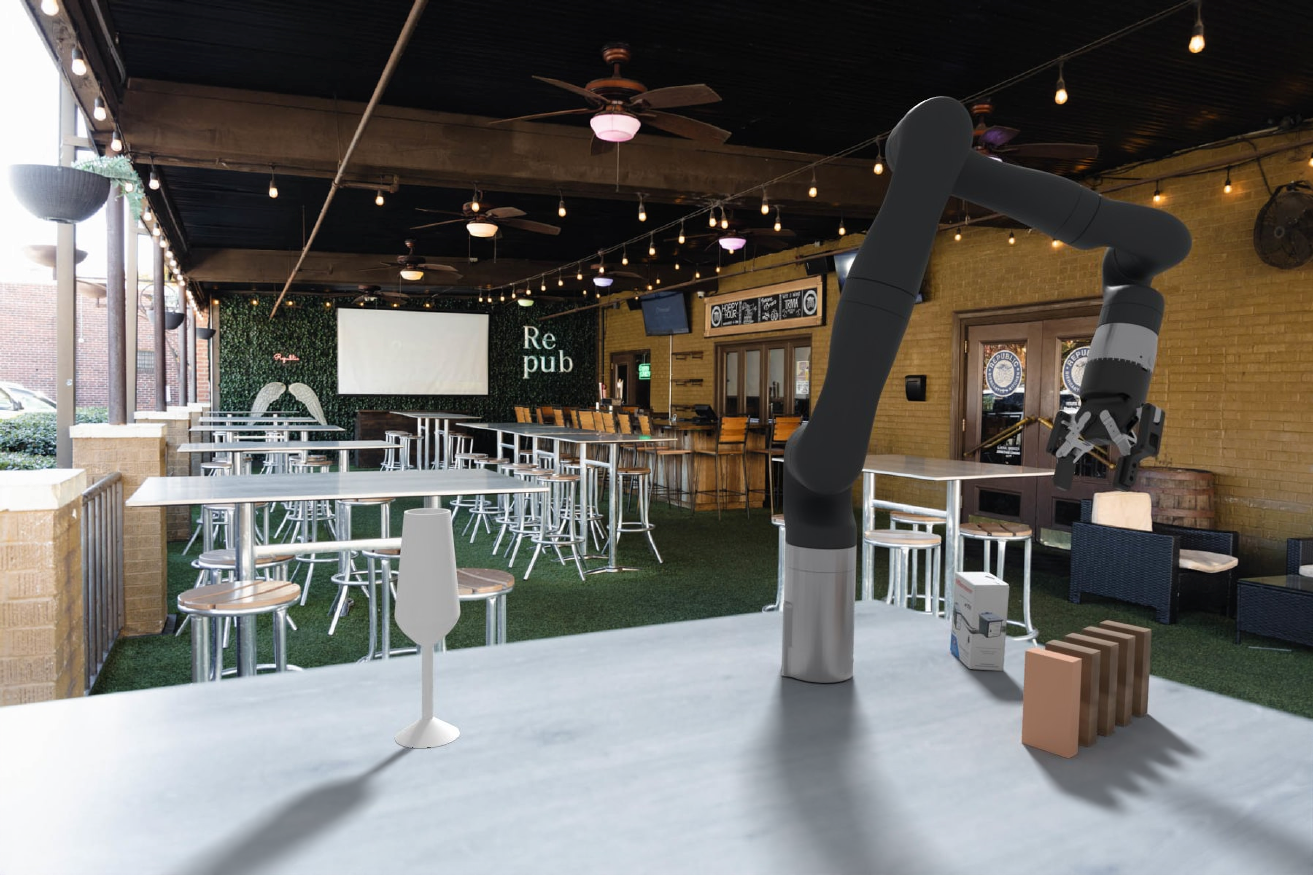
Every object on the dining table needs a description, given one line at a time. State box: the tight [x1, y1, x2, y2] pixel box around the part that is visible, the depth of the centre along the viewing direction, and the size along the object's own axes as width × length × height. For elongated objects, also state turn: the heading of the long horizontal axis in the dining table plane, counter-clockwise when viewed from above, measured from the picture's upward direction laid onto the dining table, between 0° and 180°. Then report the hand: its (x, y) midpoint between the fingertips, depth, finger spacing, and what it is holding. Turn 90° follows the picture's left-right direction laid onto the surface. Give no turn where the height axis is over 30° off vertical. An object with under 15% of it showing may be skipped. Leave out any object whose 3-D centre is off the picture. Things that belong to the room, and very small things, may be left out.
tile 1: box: [1098, 619, 1152, 718], centre depth 102 cm, size 2×5×10 cm, turn 40°
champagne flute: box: [394, 507, 461, 749], centre depth 91 cm, size 7×7×24 cm
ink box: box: [950, 571, 1010, 672], centre depth 119 cm, size 9×5×12 cm, turn 179°
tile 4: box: [1044, 639, 1101, 748], centre depth 93 cm, size 2×5×10 cm, turn 40°
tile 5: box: [1021, 646, 1082, 759], centre depth 90 cm, size 2×5×10 cm, turn 40°
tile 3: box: [1063, 632, 1119, 738], centre depth 96 cm, size 2×5×10 cm, turn 40°
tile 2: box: [1081, 625, 1135, 727], centre depth 99 cm, size 2×5×10 cm, turn 40°
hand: (1090, 489), depth 105 cm, fingers open, 8 cm apart
